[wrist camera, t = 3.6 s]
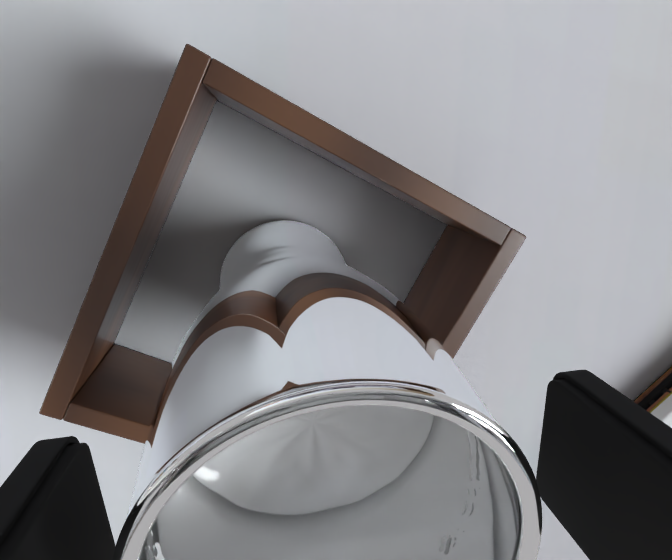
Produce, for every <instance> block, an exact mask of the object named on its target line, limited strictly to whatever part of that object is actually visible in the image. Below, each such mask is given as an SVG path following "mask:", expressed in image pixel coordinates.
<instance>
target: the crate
mask: <svg viewBox="0 0 672 560" xmlns="http://www.w3.org/2000/svg"><path fill="white" fill-rule="evenodd" d="M216 100H218V101H219V102H221V103H223V104H225V105H226V106H228V107H230V108H232V109H234V110H236V111H237V112H239V113H241V114H243V115H245V116H247V117H249V118H250V119H252V120H254V121H256V122H258V123H260V124H262V125H263V126H265V127H267V128H269V129H271V130H273V131H274V132H276V133H278V134H280V135H282V136H284V137H286V138H287V139H289V140H291V141H293V142H295V143H297V144H299V145H300V146H302V147H304V148H306V149H308V150H310V151H311V152H313V153H315V154H317V155H319V156H321V157H323V158H324V159H326V160H328V161H330V162H332V163H334V164H336V165H337V166H339V167H341V168H343V169H345V170H347V171H348V172H350V173H352V174H354V175H356V176H358V177H360V178H361V179H363V180H365V181H367V182H369V183H371V184H373V185H374V186H376V187H378V188H380V189H382V190H384V191H385V192H387V193H389V194H391V195H393V196H395V197H397V198H398V199H400V200H402V201H404V202H406V203H408V204H410V205H411V206H413V207H415V208H417V209H419V210H421V211H422V212H424V213H426V214H428V215H430V216H432V217H434V218H435V219H437V220H439V221H441V222H443V223H445V224H447V226H446V228H445V230H444V232H443V234H442V235H441V237H440V239H439V241H438V243H437V244H436V246H435V248H434V250H433V251H432V253H431V255H430V257H429V259H428V260H427V262H426V264H425V266H424V267H423V269H422V271H421V273H420V275H419V276H418V278H417V280H416V282H415V283H414V285H413V287H412V289H411V291H410V292H409V294H408V296H407V298H406V299H405V301H404V303H403V304H405V305H406V306H407V307H408V308H409V309H410V310H411V311H412V312H413V313H414V314H415V315H416V316H417V317H418V318H419V319H420V320H421V321H422V322H423V323H424V325H425V326H426V327H427V328H428V329H429V331H430V332H431V333H432V334H433V335H434V336H435V338H436V339H437V340H438V341H439V342H440V344H441V345H442V346H443V347H444V348H445V350H446V351H447V352H448V354H449V355H450V356H451V358H452V359H453V358H454V356H455V355H456V353H457V351H458V350H459V348H460V346H461V345H462V343H463V341H464V340H465V338H466V336H467V335H468V333H469V331H470V330H471V328H472V326H473V325H474V323H475V321H476V320H477V318H478V316H479V315H480V313H481V312H482V310H483V308H484V307H485V305H486V303H487V302H488V300H489V298H490V297H491V295H492V293H493V292H494V290H495V288H496V287H497V285H498V283H499V282H500V280H501V278H502V277H503V275H504V273H505V272H506V270H507V268H508V267H509V265H510V263H511V262H512V260H513V259H514V257H515V255H516V254H517V252H518V250H519V249H520V247H521V245H522V244H523V242H524V240H525V239H526V236H525V235H523V234H522V233H520V232H518V231H516V230H515V229H513V228H510V227H509V226H508V225H506V224H504V223H502V222H501V221H499V220H497V219H495V218H494V217H492V216H490V215H488V214H486V213H485V212H483V211H481V210H479V209H478V208H476V207H474V206H472V205H471V204H469V203H467V202H465V201H464V200H462V199H460V198H458V197H457V196H455V195H453V194H451V193H450V192H448V191H446V190H444V189H443V188H441V187H439V186H437V185H435V184H434V183H432V182H430V181H428V180H427V179H425V178H423V177H421V176H420V175H418V174H416V173H414V172H413V171H411V170H409V169H407V168H406V167H404V166H402V165H400V164H399V163H397V162H395V161H393V160H392V159H390V158H388V157H386V156H385V155H383V154H381V153H379V152H377V151H376V150H374V149H372V148H370V147H369V146H367V145H365V144H363V143H362V142H360V141H358V140H356V139H355V138H353V137H351V136H349V135H348V134H346V133H344V132H342V131H341V130H339V129H337V128H335V127H334V126H332V125H330V124H328V123H326V122H325V121H323V120H321V119H319V118H318V117H316V116H314V115H312V114H311V113H309V112H307V111H305V110H304V109H302V108H300V107H298V106H297V105H295V104H293V103H291V102H290V101H288V100H286V99H284V98H283V97H281V96H279V95H277V94H275V93H274V92H272V91H270V90H268V89H267V88H265V87H263V86H261V85H260V84H258V83H256V82H254V81H253V80H251V79H249V78H247V77H246V76H244V75H242V74H240V73H239V72H237V71H235V70H233V69H232V68H230V67H228V66H226V65H224V64H223V63H221V62H219V61H217V60H216V59H213V58H211V57H210V56H209V55H207V54H205V53H203V52H202V51H200V50H198V49H196V48H195V47H193V46H191V45H189V44H186V45H185V48H184V50H183V53H182V55H181V58H180V60H179V63H178V65H177V68H176V70H175V73H174V75H173V78H172V80H171V83H170V85H169V88H168V90H167V93H166V95H165V98H164V101H163V103H162V106H161V108H160V111H159V113H158V116H157V118H156V121H155V123H154V126H153V128H152V131H151V133H150V136H149V138H148V141H147V143H146V146H145V148H144V151H143V153H142V156H141V158H140V161H139V163H138V166H137V168H136V171H135V173H134V176H133V178H132V181H131V183H130V186H129V188H128V191H127V193H126V196H125V198H124V201H123V203H122V206H121V208H120V211H119V213H118V216H117V218H116V221H115V223H114V226H113V229H112V231H111V234H110V236H109V239H108V241H107V244H106V246H105V249H104V251H103V254H102V256H101V259H100V261H99V264H98V266H97V269H96V271H95V274H94V276H93V279H92V281H91V284H90V286H89V289H88V291H87V294H86V296H85V299H84V301H83V304H82V306H81V309H80V311H79V314H78V316H77V319H76V321H75V324H74V326H73V329H72V331H71V334H70V336H69V339H68V341H67V344H66V346H65V349H64V351H63V354H62V357H61V359H60V362H59V364H58V367H57V369H56V372H55V374H54V377H53V379H52V382H51V384H50V387H49V389H48V392H47V394H46V397H45V399H44V402H43V404H42V407H41V409H40V412H39V413H40V414H42V415H45V416H49V417H52V418H56V419H59V420H62V419H63V420H64V421H67V422H71V423H74V424H78V425H81V426H85V427H88V428H92V429H95V430H99V431H102V432H106V433H109V434H113V435H116V436H120V437H123V438H127V439H130V440H134V441H137V442H140V443H144V444H145V442H146V438H147V434H148V430H149V427H150V423H151V419H152V416H153V413H154V410H155V407H156V404H157V401H158V398H159V395H160V392H161V389H162V386H163V383H164V381H165V378H166V375H167V372H168V370H169V368H170V366H171V363H168V362H165V361H162V360H160V359H157V358H154V357H151V356H148V355H145V354H142V353H139V352H136V351H134V350H131V349H128V348H125V347H122V346H119V345H116V344H114V341H115V339H116V337H117V334H118V332H119V330H120V327H121V325H122V323H123V320H124V318H125V315H126V313H127V311H128V308H129V306H130V304H131V301H132V299H133V297H134V294H135V292H136V289H137V287H138V285H139V282H140V280H141V278H142V275H143V273H144V271H145V268H146V266H147V263H148V261H149V259H150V256H151V254H152V252H153V249H154V247H155V245H156V242H157V240H158V237H159V235H160V233H161V230H162V228H163V226H164V223H165V221H166V219H167V216H168V214H169V211H170V209H171V207H172V204H173V202H174V200H175V197H176V195H177V193H178V190H179V188H180V185H181V183H182V181H183V178H184V176H185V174H186V171H187V169H188V166H189V164H190V162H191V159H192V157H193V155H194V152H195V150H196V148H197V145H198V143H199V140H200V138H201V136H202V133H203V131H204V129H205V126H206V124H207V122H208V119H209V117H210V114H211V112H212V110H213V107H214V105H215V103H216ZM113 344H114V345H113Z"/></svg>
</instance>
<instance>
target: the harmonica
mask: <svg viewBox="0 0 672 560" xmlns="http://www.w3.org/2000/svg"><path fill="white" fill-rule="evenodd" d="M634 402H635V403H636V404H638V405H639V406H641V407H642V408H643V409H645V410H646V411H648V412H649V413H651V414H652V415H654V416H655V417H657V418H658V419H660V420H661V421H662V422H664V423H665V424H667V425H668V426H670V427H671V428H672V367H671V368H670V369H669V370H668V371H667V372H666V373H664V374H663V375H662V376H661V377H660V378H659V379H658V380H657V381H656V382H655V383H653V384H652V385H651V386H650V387H649V388H648V389H647V390H646V391H645V392H644V393H643V394H641V395H640V396H639V397H638V398H637V399H636V400H635V401H634Z"/></svg>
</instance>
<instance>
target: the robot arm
mask: <svg viewBox="0 0 672 560" xmlns="http://www.w3.org/2000/svg"><path fill="white" fill-rule="evenodd" d="M536 482H537V485H538V489H539V493H540V497H541V498H542V500H543V501H544V502H545V504H546V505H547V506H548V508H549V509H550V510H551V511H552V513H553V514H554V515H555V516H556V518H557V519H558V520H559V521H560V523H561V524H562V525H563V526H564V528H565V529H566V530H567V532H568V533H569V534H570V535H571V537H572V538H573V539H574V540H575V542H576V543H577V544H578V545H579V547H580V548H581V549H582V551H583V552H584V553H585V554H586V556H587V557H588V558H589V559H590V560H672V428H671V427H670V426H668V425H667V424H665V423H664V422H662V421H661V420H660V419H658V418H657V417H655V416H654V415H652V414H651V413H649V412H648V411H646V410H645V409H643V408H642V407H641V406H639V405H638V404H636V403H635V402H633V401H632V400H630V399H629V398H627V397H626V396H624V395H623V394H622V393H620V392H619V391H617V390H616V389H614V388H613V387H611V386H610V385H608V384H607V383H606V382H604V381H603V380H601V379H600V378H598V377H597V376H595V375H594V374H592V373H591V372H589V371H587V370H576V371H568V372H560V373H558V374H556V375H555V377H554V378H553V380H552V381H550V382H549V384H548V387H547V395H546V403H545V411H544V419H543V427H542V435H541V444H540V452H539V460H538V468H537V476H536ZM114 551H115V543H114V539H113V535H112V532H111V528H110V524H109V520H108V517H107V513H106V509H105V505H104V501H103V498H102V494H101V490H100V486H99V482H98V479H97V475H96V471H95V467H94V464H93V460H92V456H91V452H90V449H89V446H88V445H87V444H86V443H79V441H78V439H77V438H76V437H73V436H70V437H63V438H55V439H47V440H41V441H38V442H36V443H35V444H34V445H33V446H32V448H31V449H30V450H29V451H28V453H27V454H26V455H25V456H24V458H23V459H22V460H21V462H20V463H19V464H18V465H17V467H16V468H15V469H14V471H13V472H12V473H11V474H10V476H9V477H8V478H7V479H6V481H5V482H4V483H3V485H2V486H1V487H0V560H112V559H113V554H114Z"/></svg>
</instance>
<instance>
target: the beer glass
mask: <svg viewBox="0 0 672 560" xmlns="http://www.w3.org/2000/svg"><path fill="white" fill-rule="evenodd" d="M541 532H542V507H541V499H540V493H539V489H538V485H537V482H536V479H535V476H534V473H533V471H532V469H531V467H530V465H529V463H528V461H527V459H526V457H525V455H524V454H523V452H522V451H521V449H520V448H519V446H518V445H517V444H516V442H515V441H514V440H513V439H512V437H511V436H510V435H509V434H508V433H507V432H506V431H505V430H504V429H503V428H502V427H501V426H500V425H499V424H498V422H497V421H496V420H495V418H494V417H493V415H492V414H491V413H490V411H489V410H488V408H487V407H486V406H485V404H484V403H483V401H482V400H481V398H480V397H479V395H478V394H477V392H476V391H475V390H474V388H473V387H472V385H471V384H470V382H469V381H468V380H467V378H466V377H465V375H464V374H463V373H462V371H461V370H460V369H459V367H458V366H457V365H456V363H455V362H454V360H453V359H452V358H451V356H450V355H449V354H448V352H447V351H446V350H445V348H444V347H443V346H442V345H441V344H440V342H439V341H438V340H437V339H436V338H435V336H434V335H433V334H432V333H431V332H430V331H429V329H428V328H427V327H426V326H425V325H424V323H423V322H422V321H421V320H420V319H419V318H418V317H417V316H416V315H415V314H414V313H413V312H412V311H411V310H410V309H409V308H408V307H407V306H406V305H405V304H403V303H402V302H401V301H400V300H399V299H398V298H397V297H396V296H395V295H394V294H393V293H391V292H390V291H389V290H388V289H386V288H385V287H384V286H382V285H381V284H379V283H378V282H376V281H374V280H373V279H371V278H370V277H368V276H366V275H365V274H363V273H361V272H360V271H358V270H356V269H354V268H352V267H350V266H347V265H346V263H345V260H344V258H343V256H342V254H341V252H340V250H339V249H338V247H337V246H336V244H335V243H334V242H333V241H332V240H331V239H330V238H329V237H328V236H327V235H325V234H324V233H323V232H321V231H320V230H318V229H316V228H315V227H313V226H310V225H308V224H305V223H302V222H298V221H290V220H279V221H272V222H268V223H264V224H261V225H259V226H257V227H254V228H253V229H251V230H249V231H248V232H246V233H245V234H244V235H242V236H241V237H240V238H239V239H238V240H237V241H236V242H235V243H234V244H233V246H232V247H231V248H230V250H229V251H228V253H227V255H226V257H225V259H224V262H223V265H222V268H221V273H220V290H219V291H218V292H217V293H216V294H215V295H214V296H213V297H212V299H211V300H210V301H209V302H208V304H207V305H206V306H205V307H204V309H203V310H202V311H201V313H200V314H199V315H198V317H197V318H196V319H195V321H194V322H193V323H192V325H191V326H190V328H189V329H188V331H187V333H186V335H185V336H184V338H183V341H182V343H181V345H180V347H179V349H178V351H177V353H176V355H175V357H174V359H173V361H172V363H171V366H170V368H169V370H168V372H167V375H166V378H165V381H164V383H163V386H162V389H161V392H160V395H159V398H158V401H157V404H156V407H155V410H154V413H153V416H152V419H151V423H150V427H149V430H148V434H147V438H146V442H145V445H144V449H143V453H142V457H141V460H140V465H139V469H138V473H137V478H136V482H135V486H134V490H133V495H132V499H131V503H130V506H129V510H128V514H127V518H126V522H125V524H124V526H123V528H122V530H121V533H120V535H119V538H118V541H117V544H116V547H115V551H114V554H113V559H112V560H536V558H537V555H538V551H539V546H540V540H541Z"/></svg>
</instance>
